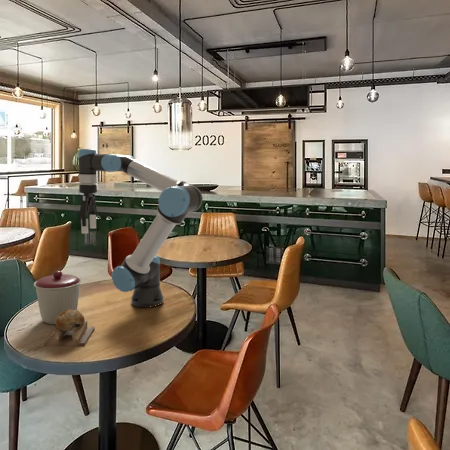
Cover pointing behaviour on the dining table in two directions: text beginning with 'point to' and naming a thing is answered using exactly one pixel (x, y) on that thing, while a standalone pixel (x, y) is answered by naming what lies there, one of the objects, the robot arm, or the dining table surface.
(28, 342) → the dining table surface
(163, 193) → the robot arm
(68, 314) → the bread roll
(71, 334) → the display stand
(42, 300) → the canister
